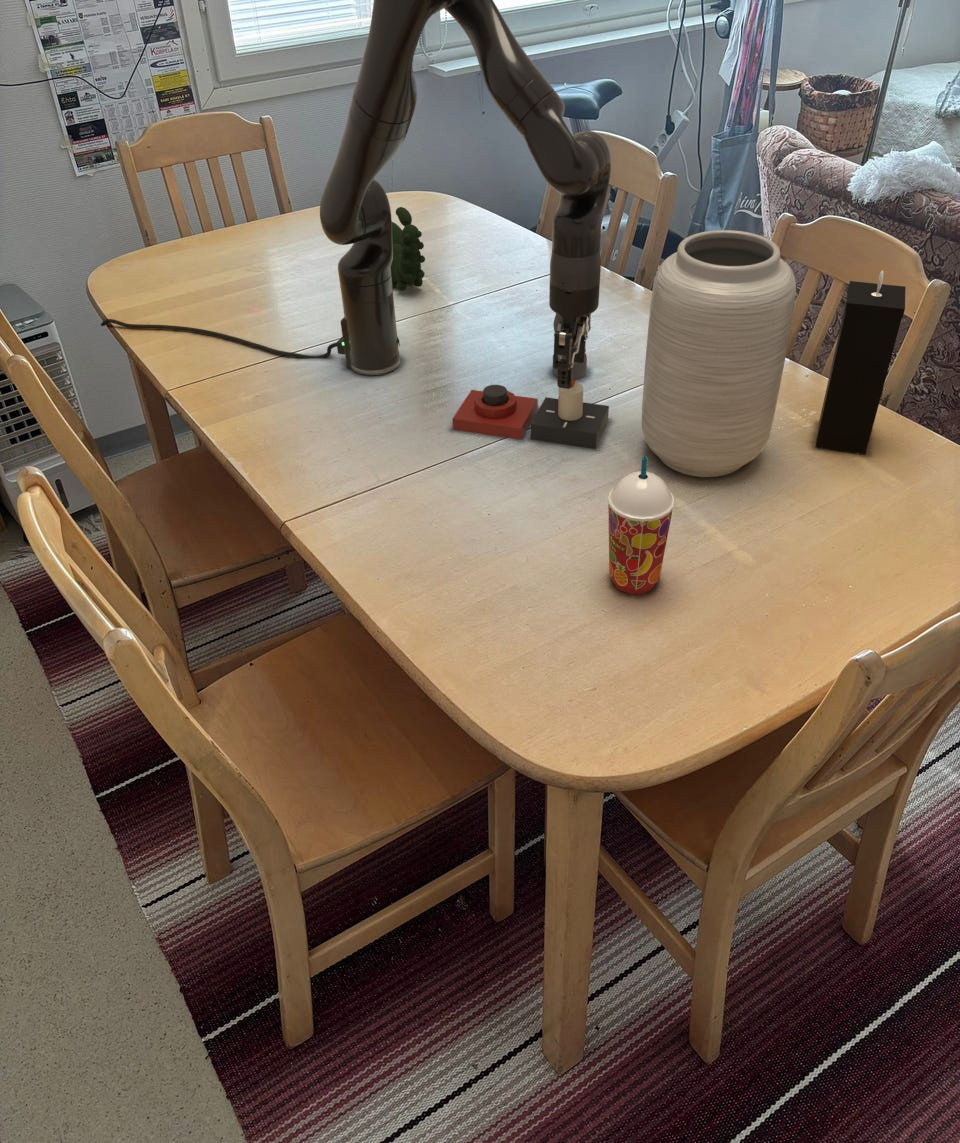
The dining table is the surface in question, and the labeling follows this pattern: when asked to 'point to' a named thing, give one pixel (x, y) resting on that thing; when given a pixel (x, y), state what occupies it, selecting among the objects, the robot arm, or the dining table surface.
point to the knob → (571, 402)
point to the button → (495, 395)
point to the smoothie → (638, 530)
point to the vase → (716, 351)
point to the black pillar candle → (860, 365)
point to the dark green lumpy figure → (406, 252)
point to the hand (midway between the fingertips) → (571, 374)
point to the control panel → (569, 425)
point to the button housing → (496, 415)
